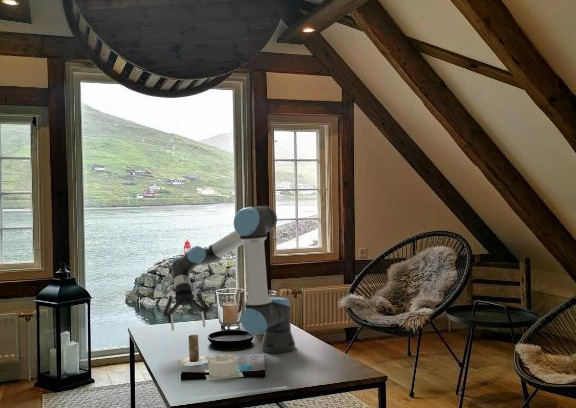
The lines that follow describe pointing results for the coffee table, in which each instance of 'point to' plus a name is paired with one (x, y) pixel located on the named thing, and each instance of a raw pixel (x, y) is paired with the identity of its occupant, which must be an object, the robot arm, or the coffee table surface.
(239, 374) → the mat
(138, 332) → the coffee table surface
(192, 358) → the lid
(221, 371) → the bowl
